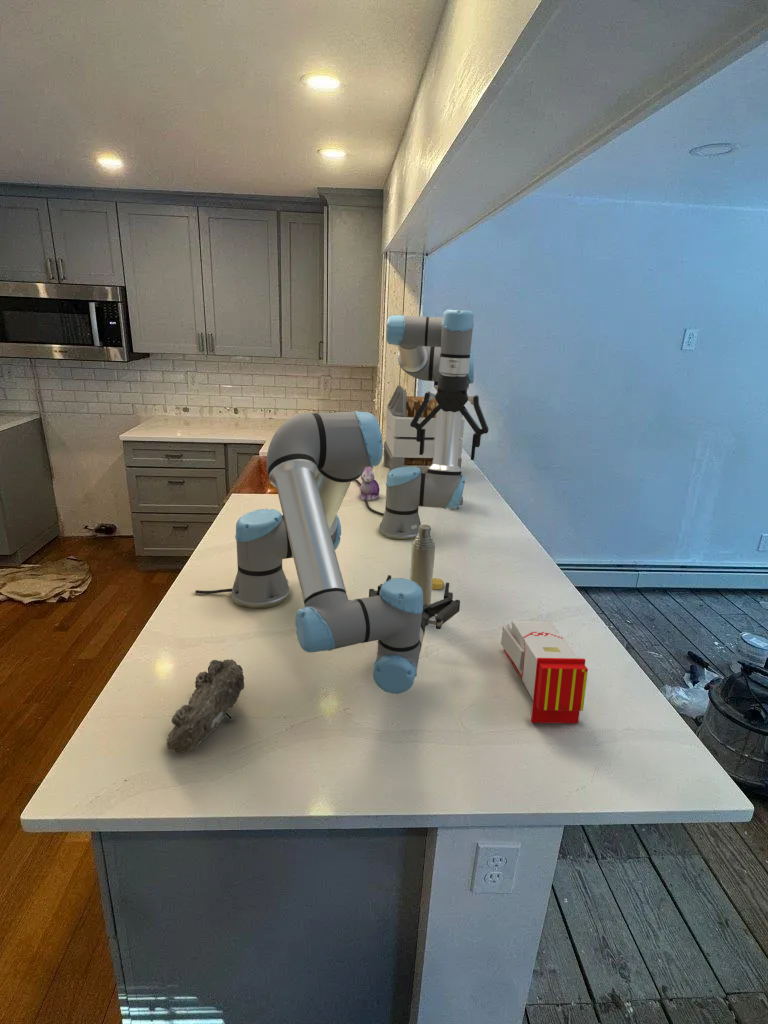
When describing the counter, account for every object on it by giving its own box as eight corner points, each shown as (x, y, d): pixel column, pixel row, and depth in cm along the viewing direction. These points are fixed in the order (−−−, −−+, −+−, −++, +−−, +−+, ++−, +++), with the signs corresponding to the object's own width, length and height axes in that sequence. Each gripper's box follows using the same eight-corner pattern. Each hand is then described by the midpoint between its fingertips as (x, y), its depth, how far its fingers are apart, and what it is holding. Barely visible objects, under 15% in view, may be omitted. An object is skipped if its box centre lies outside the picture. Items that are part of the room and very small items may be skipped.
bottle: (406, 620, 145) (411, 529, 136) (408, 609, 150) (414, 521, 142) (428, 622, 144) (435, 531, 136) (430, 611, 149) (437, 523, 141)
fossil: (192, 660, 117) (244, 628, 112) (224, 691, 120) (276, 661, 115) (142, 746, 98) (202, 712, 93) (182, 779, 101) (242, 748, 96)
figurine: (364, 502, 230) (365, 466, 225) (353, 495, 238) (354, 460, 233) (384, 500, 234) (386, 464, 229) (373, 492, 242) (375, 458, 237)
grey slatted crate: (382, 463, 289) (386, 382, 275) (445, 464, 293) (451, 384, 279) (390, 482, 257) (394, 392, 243) (460, 483, 261) (468, 394, 247)
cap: (444, 589, 162) (444, 584, 161) (429, 589, 161) (430, 584, 161) (441, 582, 166) (442, 578, 165) (427, 582, 165) (428, 577, 165)
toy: (547, 606, 135) (596, 665, 106) (541, 658, 138) (589, 729, 108) (496, 604, 134) (532, 664, 105) (492, 657, 137) (526, 729, 108)
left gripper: (343, 640, 116) (365, 591, 135) (466, 657, 112) (470, 605, 132) (344, 607, 113) (366, 563, 133) (470, 625, 109) (473, 576, 129)
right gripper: (402, 372, 142) (397, 455, 149) (503, 379, 137) (493, 464, 144) (407, 370, 149) (403, 448, 156) (504, 376, 144) (495, 457, 151)
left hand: (418, 584), depth 132 cm, fingers open, 13 cm apart
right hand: (446, 456), depth 150 cm, fingers open, 13 cm apart
